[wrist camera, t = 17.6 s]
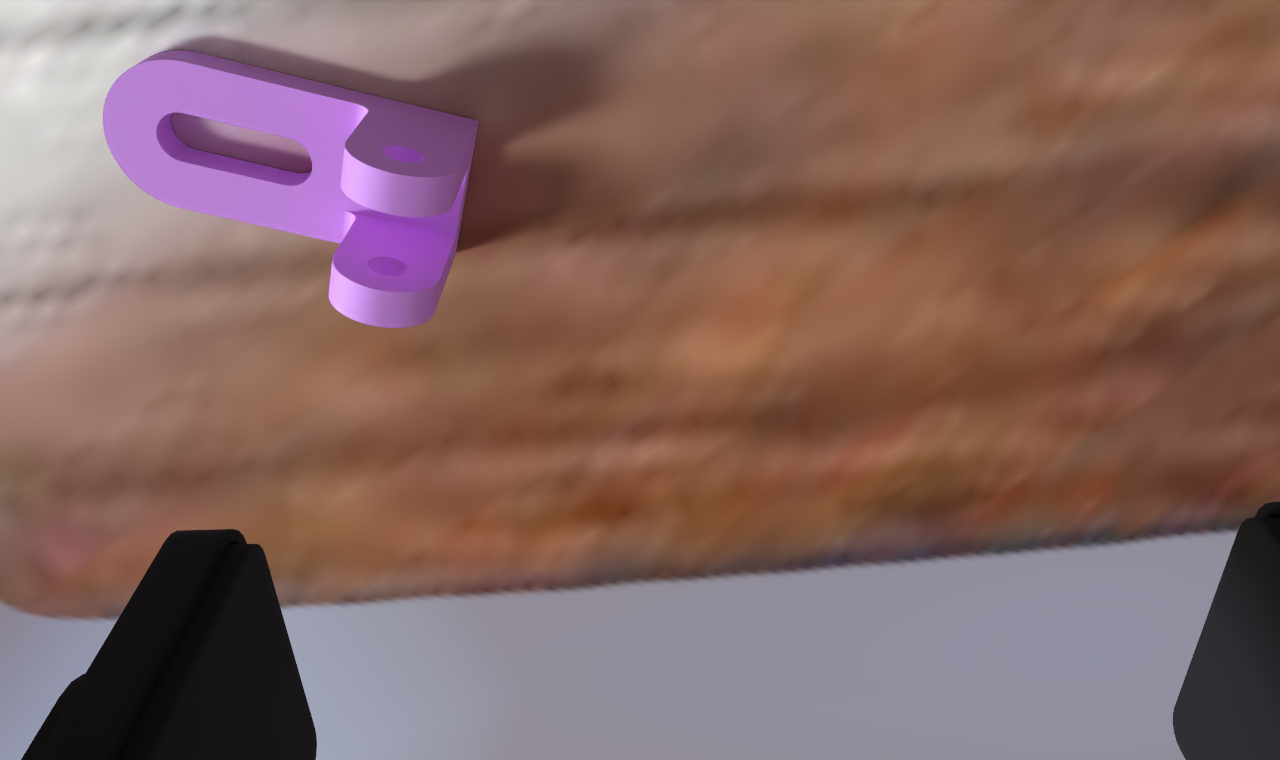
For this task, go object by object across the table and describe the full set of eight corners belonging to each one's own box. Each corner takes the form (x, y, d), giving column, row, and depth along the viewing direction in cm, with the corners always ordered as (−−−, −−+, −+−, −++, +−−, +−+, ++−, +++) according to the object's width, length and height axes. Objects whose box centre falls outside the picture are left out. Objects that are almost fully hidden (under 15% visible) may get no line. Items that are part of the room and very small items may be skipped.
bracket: (478, 120, 38) (450, 187, 32) (455, 253, 41) (425, 336, 35) (118, 32, 36) (18, 85, 30) (120, 177, 39) (28, 251, 33)
